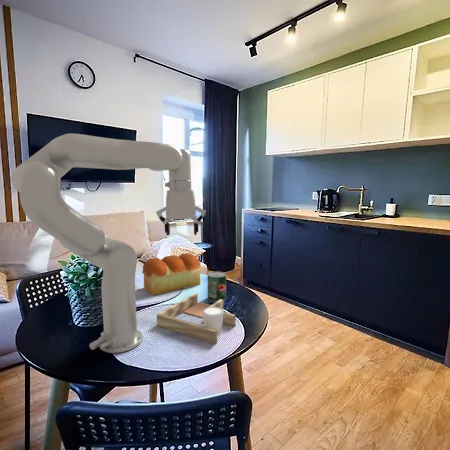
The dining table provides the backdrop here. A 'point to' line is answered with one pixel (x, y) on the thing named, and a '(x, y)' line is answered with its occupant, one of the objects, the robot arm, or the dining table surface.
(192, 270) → the bread
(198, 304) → the pad
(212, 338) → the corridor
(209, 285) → the canned tomato
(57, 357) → the dining table surface
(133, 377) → the dining table surface
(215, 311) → the shot glass
